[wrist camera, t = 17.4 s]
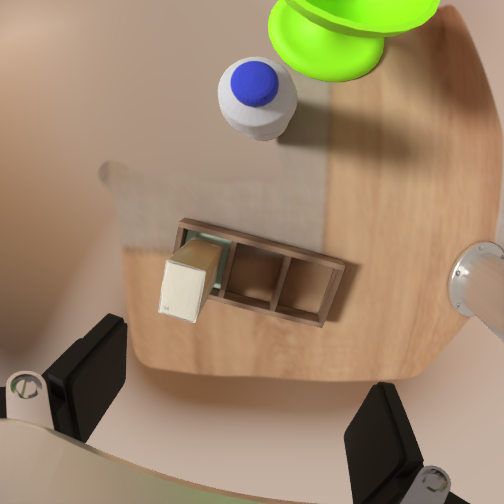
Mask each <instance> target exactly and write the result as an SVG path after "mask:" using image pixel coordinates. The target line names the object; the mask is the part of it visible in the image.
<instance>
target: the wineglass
mask: <svg viewBox="0 0 504 504" xmlns="http://www.w3.org/2000/svg"><path fill="white" fill-rule="evenodd" d="M439 2H440V0H278V2H277V3H276V4H275V6H274V7H273V9H272V11H271V14H270V18H269V21H268V28H269V37H270V39H271V42H272V44H273V47H274V49H275V50H276V52H277V53H278V54H279V56H280V57H281V58H282V60H283V61H285V62H286V63H287V64H288V65H290V66H291V67H292V68H293V69H295V70H296V71H298V72H300V73H302V74H304V75H306V76H308V77H311V78H315V79H319V80H322V81H331V82H343V81H348V80H353V79H357V78H359V77H361V76H363V75H365V74H367V73H368V72H369V71H370V70H371V69H372V68H373V67H374V66H376V65H377V63H378V61H379V59H380V57H381V55H382V54H383V48H384V42H385V40H384V37H392V36H397V35H400V34H402V33H405V32H407V31H410V30H412V29H414V28H416V27H418V26H420V25H422V24H424V23H425V22H426V21H427V20H428V19H429V18H430V17H432V16H433V15H434V14H435V12H436V9H437V7H438V5H439Z"/></svg>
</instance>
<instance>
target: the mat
mask: <svg viewBox="0 0 504 504" xmlns="http://www.w3.org/2000/svg"><path fill="white" fill-rule="evenodd" d="M195 235H198V236H202V237H206V238H209V239H213V240H216V241H219V242H223V243H224V249H223V254H222V259H221V264H220V268H219V272H218V275H217V279H216V282H215V284H214V286H213V287H216V288H220V286H221V282H222V278H223V274H224V270H225V266H226V262H227V257H228V253H229V249H230V245H231V241H230V240H227V239H223V238H219V237H215V236H212V235H208V234H204V233H200V232H197V231H193V230H189V229H188V233H187V238H186V243H187V242H188V241H189V240H191V239H192V238H193V237H194V236H195ZM186 243H185V244H186Z"/></svg>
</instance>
